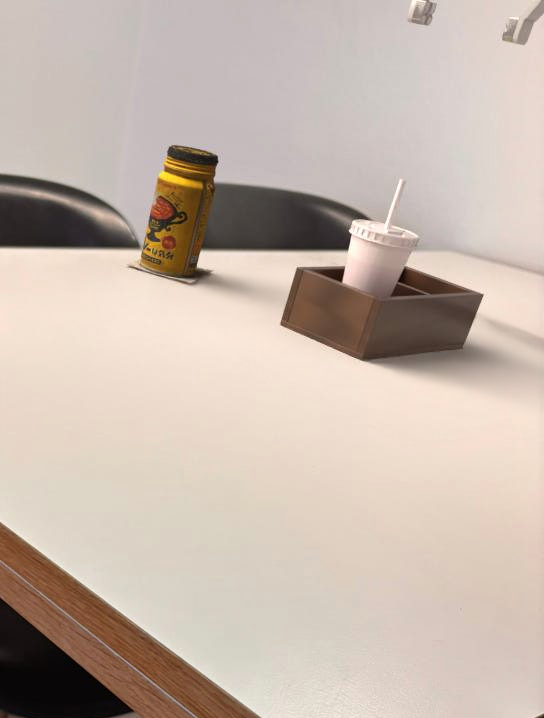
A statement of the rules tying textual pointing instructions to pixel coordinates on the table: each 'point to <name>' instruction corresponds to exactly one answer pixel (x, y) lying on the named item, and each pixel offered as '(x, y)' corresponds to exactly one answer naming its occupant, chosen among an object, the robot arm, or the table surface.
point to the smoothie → (378, 252)
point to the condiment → (179, 215)
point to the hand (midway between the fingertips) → (464, 33)
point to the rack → (380, 313)
